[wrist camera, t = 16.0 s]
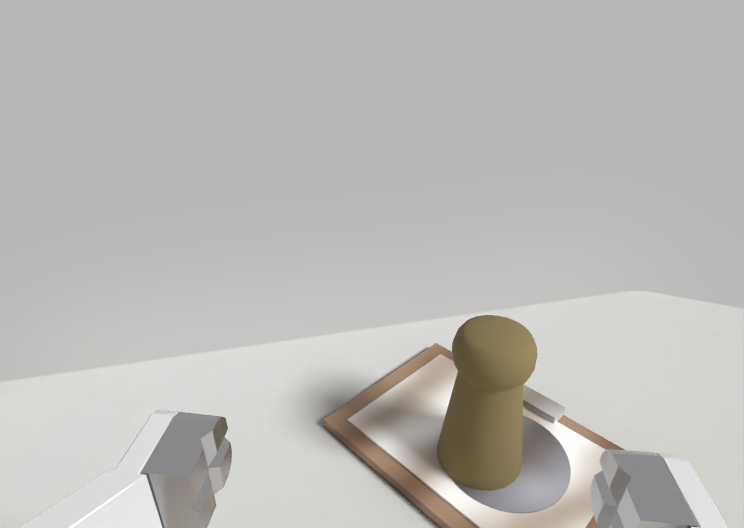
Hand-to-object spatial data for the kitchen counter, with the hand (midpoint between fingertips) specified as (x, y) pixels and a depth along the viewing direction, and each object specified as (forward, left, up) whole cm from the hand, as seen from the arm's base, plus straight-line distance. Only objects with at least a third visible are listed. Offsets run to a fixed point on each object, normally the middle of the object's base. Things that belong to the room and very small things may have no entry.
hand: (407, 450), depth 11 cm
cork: (-7, +17, -20) cm, 27 cm away
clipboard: (-8, +18, -21) cm, 29 cm away
